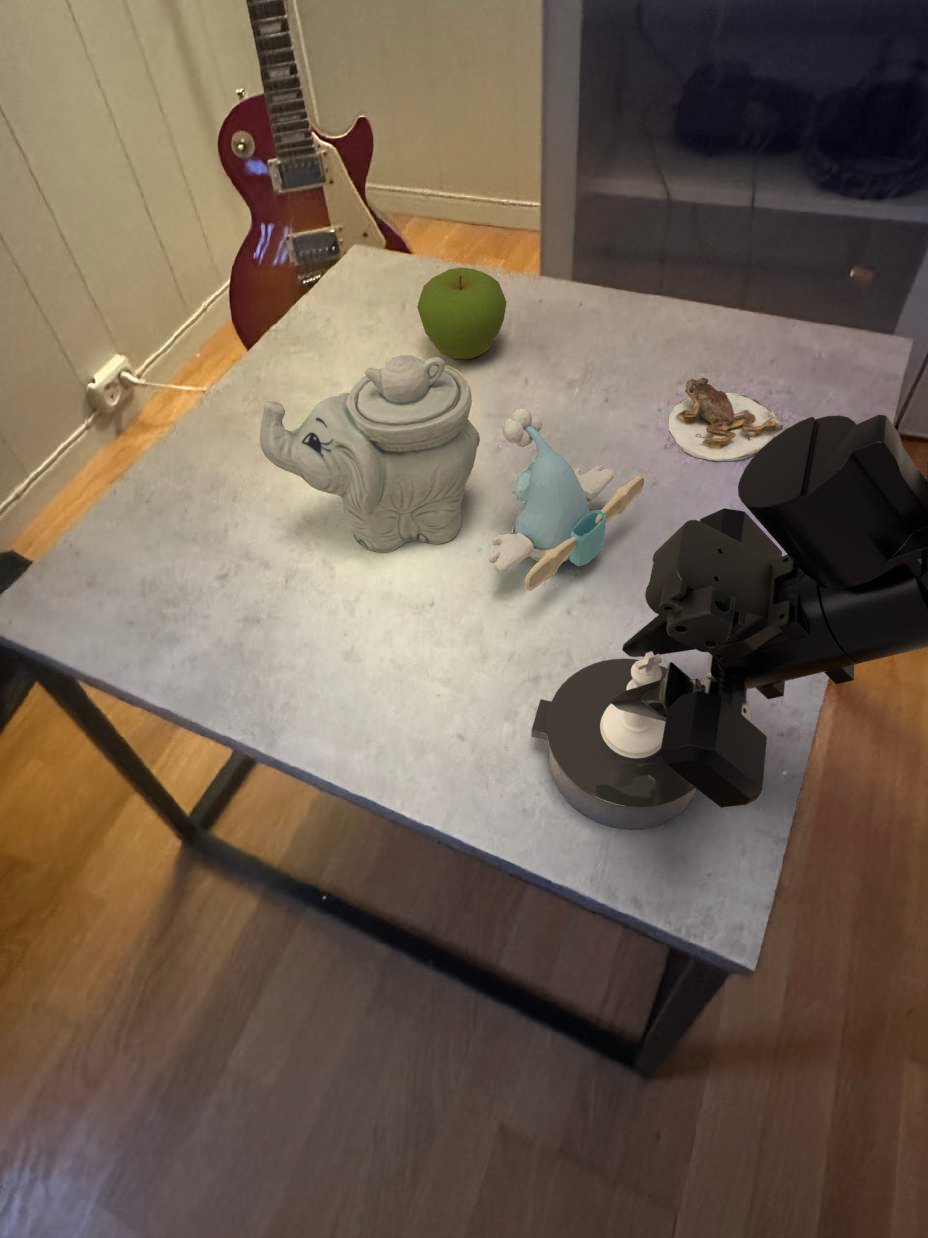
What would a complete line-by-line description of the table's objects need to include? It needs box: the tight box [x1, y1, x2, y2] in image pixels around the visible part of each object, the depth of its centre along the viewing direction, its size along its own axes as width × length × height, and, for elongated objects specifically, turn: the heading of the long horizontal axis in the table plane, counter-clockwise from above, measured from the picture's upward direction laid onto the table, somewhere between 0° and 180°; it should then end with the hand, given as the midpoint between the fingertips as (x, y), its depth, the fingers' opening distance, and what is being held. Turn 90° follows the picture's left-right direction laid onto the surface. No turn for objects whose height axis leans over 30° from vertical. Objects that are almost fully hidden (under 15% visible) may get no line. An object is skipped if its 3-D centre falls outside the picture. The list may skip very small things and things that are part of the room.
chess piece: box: [600, 651, 665, 758], centre depth 53 cm, size 5×5×10 cm
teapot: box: [259, 354, 481, 553], centre depth 71 cm, size 16×15×19 cm
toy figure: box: [488, 408, 645, 591], centre depth 69 cm, size 17×10×15 cm, turn 136°
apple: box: [416, 267, 507, 360], centre depth 92 cm, size 11×10×10 cm
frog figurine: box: [667, 377, 784, 462], centre depth 82 cm, size 12×12×4 cm
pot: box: [530, 658, 697, 830], centre depth 59 cm, size 15×13×5 cm
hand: (620, 677), depth 52 cm, fingers open, 4 cm apart
